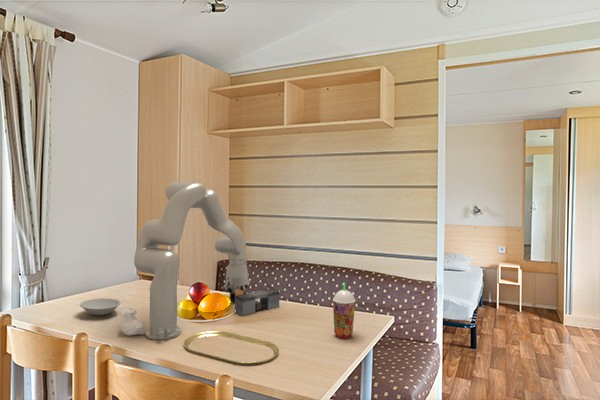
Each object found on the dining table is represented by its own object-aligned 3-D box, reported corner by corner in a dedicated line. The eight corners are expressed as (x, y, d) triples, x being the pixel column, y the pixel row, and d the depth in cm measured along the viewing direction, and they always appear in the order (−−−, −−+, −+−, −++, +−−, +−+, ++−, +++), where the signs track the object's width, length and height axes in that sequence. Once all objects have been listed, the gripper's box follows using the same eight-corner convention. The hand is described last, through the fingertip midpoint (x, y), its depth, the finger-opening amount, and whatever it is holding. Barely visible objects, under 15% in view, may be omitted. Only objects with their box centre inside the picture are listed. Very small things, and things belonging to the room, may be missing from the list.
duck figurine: (121, 336, 154) (104, 318, 148) (135, 320, 159) (119, 301, 153) (141, 343, 148) (124, 324, 142) (155, 326, 153) (139, 307, 147)
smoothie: (328, 337, 151) (329, 283, 150) (337, 330, 158) (338, 279, 157) (350, 341, 147) (351, 286, 146) (357, 334, 154) (358, 281, 153)
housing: (279, 307, 187) (279, 290, 186) (242, 316, 173) (242, 298, 173) (271, 304, 191) (271, 288, 191) (234, 312, 178) (235, 295, 177)
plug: (262, 308, 183) (263, 297, 182) (254, 310, 180) (254, 299, 179) (238, 299, 197) (238, 288, 197) (230, 300, 194) (230, 290, 194)
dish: (129, 313, 174) (129, 302, 174) (97, 323, 162) (97, 311, 162) (102, 307, 183) (102, 296, 183) (71, 316, 171) (71, 304, 170)
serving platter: (208, 332, 156) (208, 328, 156) (288, 350, 140) (288, 345, 139) (172, 349, 139) (172, 344, 139) (258, 372, 123) (258, 367, 123)
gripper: (247, 258, 202) (247, 295, 202) (217, 262, 190) (217, 301, 191) (256, 261, 196) (256, 298, 197) (226, 265, 185) (226, 305, 186)
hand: (237, 299), depth 194 cm, fingers closed on plug, 4 cm apart
